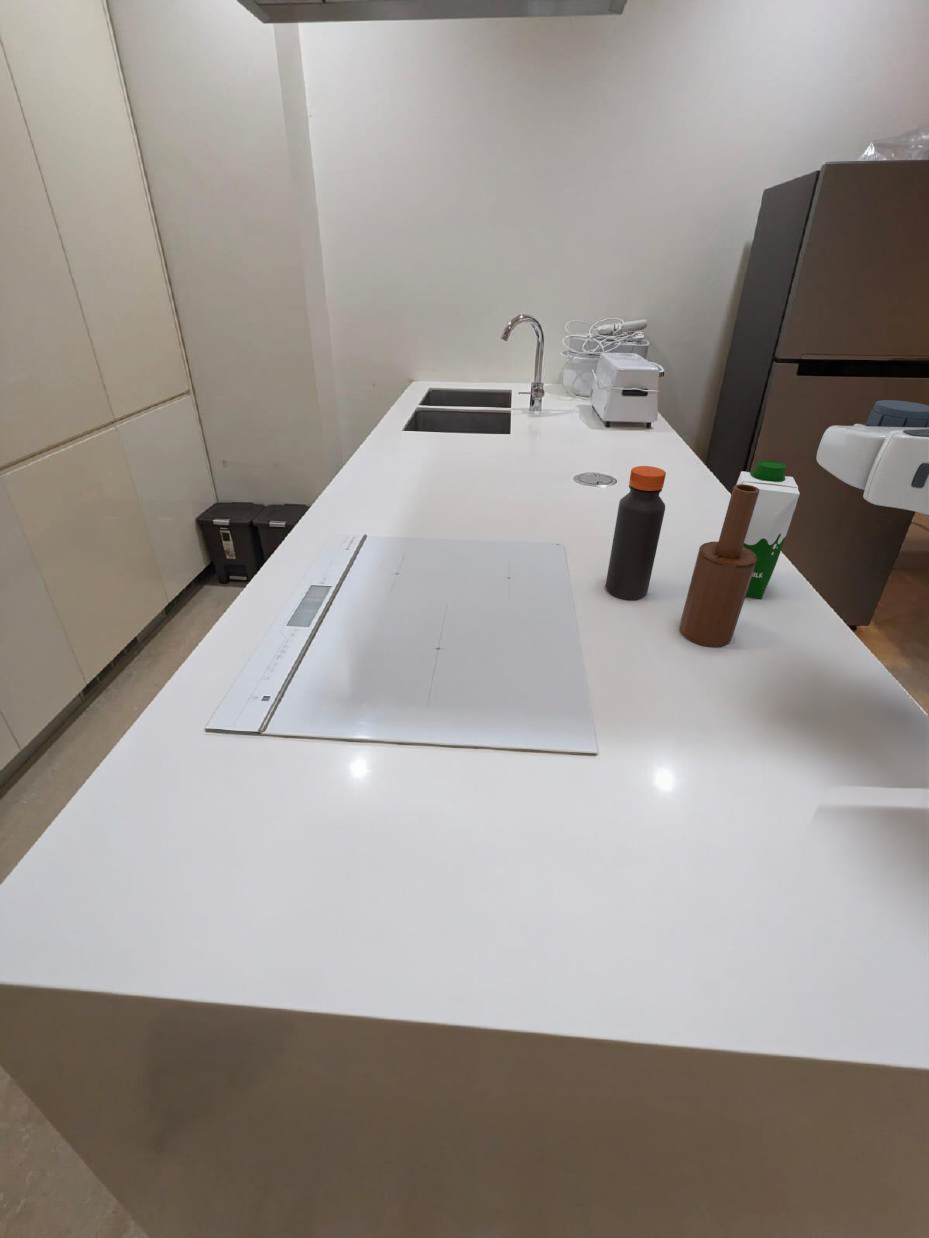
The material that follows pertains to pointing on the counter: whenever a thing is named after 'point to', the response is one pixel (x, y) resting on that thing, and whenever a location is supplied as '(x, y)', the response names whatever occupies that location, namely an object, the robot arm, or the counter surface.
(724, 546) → the bottle
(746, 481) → the milk carton
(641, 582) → the vinegar
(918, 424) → the cylinder
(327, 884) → the counter surface
